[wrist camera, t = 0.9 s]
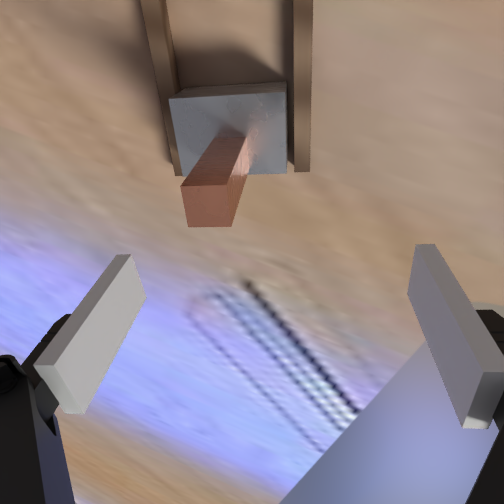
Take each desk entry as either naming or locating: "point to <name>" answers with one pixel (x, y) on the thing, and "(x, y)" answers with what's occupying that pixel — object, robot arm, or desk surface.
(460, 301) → the robot arm
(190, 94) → the mallet
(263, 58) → the desk surface
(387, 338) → the desk surface
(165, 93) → the frame
